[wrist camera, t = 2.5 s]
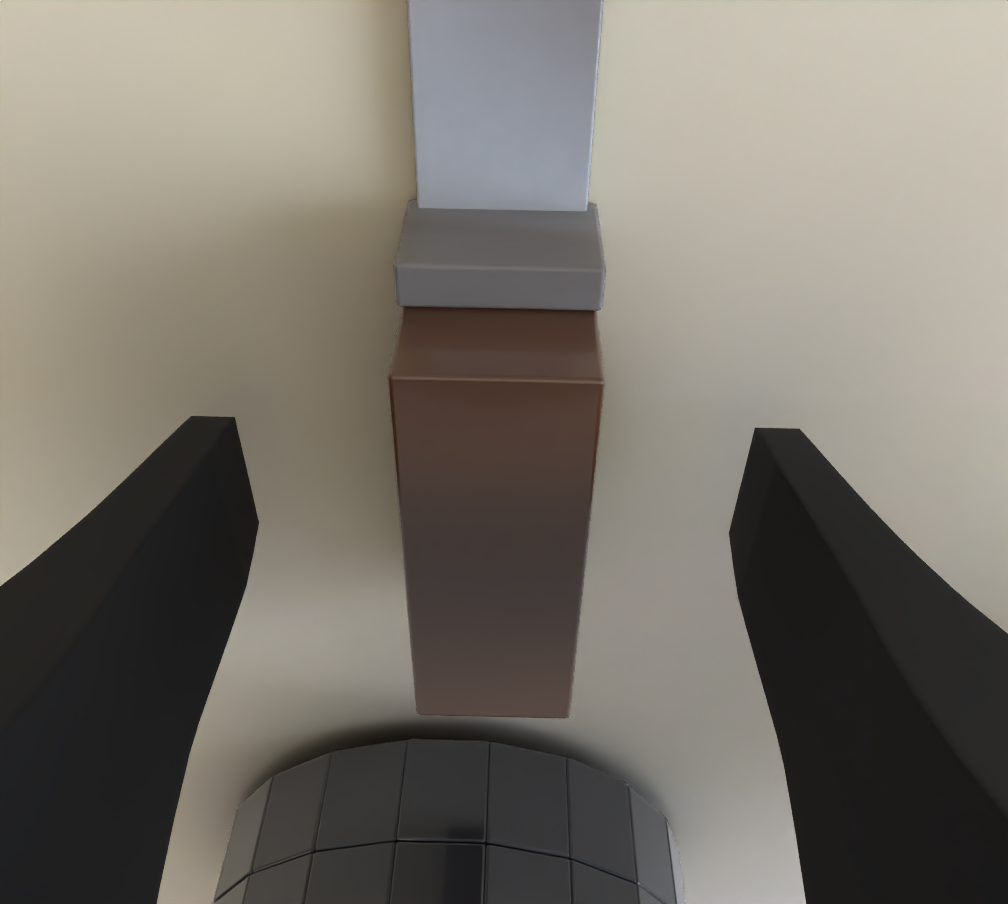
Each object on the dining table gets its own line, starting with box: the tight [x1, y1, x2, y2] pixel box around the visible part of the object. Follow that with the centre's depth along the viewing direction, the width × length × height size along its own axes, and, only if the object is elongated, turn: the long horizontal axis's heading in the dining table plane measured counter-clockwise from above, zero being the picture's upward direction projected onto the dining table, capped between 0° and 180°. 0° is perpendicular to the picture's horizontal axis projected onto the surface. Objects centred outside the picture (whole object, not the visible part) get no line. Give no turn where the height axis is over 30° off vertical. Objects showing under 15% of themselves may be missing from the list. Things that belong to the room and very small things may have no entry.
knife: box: [387, 0, 606, 718], centre depth 10 cm, size 16×2×3 cm, turn 179°
